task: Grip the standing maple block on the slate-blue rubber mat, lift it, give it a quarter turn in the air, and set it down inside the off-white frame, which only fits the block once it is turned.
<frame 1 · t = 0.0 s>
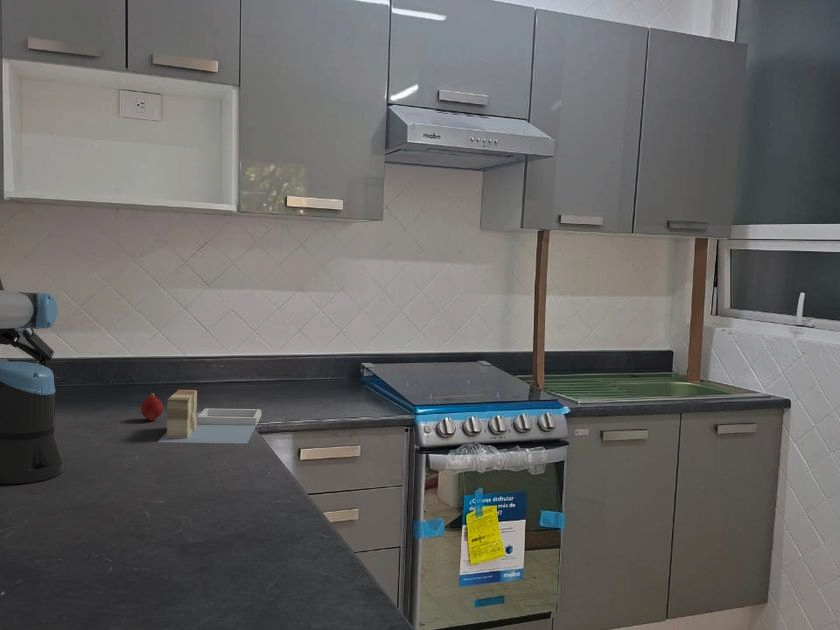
hand: (16, 377, 187), 15 cm above the worktop, tool tilted 35°, fingers open, 13 cm apart
frame: (230, 421, 214), resting on mat
block: (182, 432, 199), resting on mat
onion: (151, 422, 210), on the worktop
mat: (214, 427, 206), on the worktop
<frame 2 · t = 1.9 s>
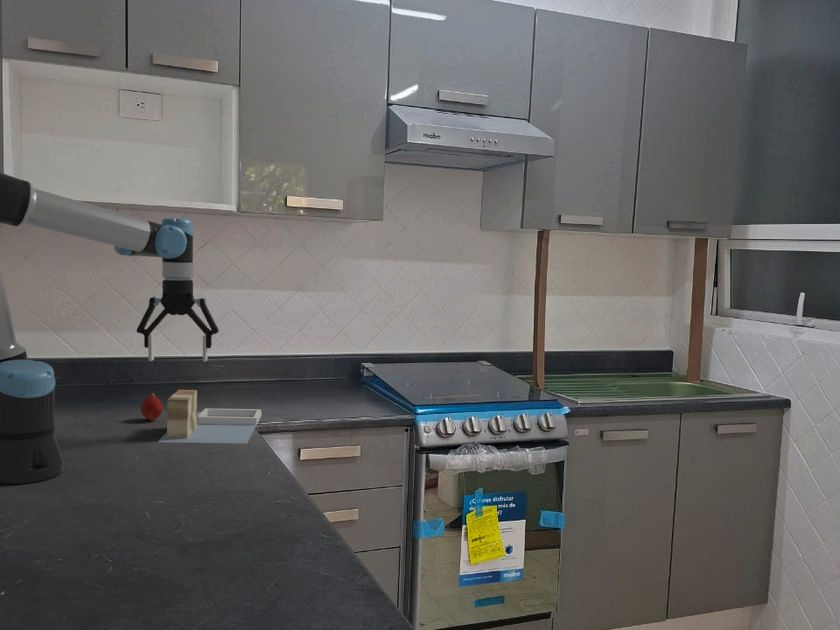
hand: (178, 360, 197), 19 cm above the worktop, tool pointing down, fingers open, 13 cm apart
nothing on the worktop moved.
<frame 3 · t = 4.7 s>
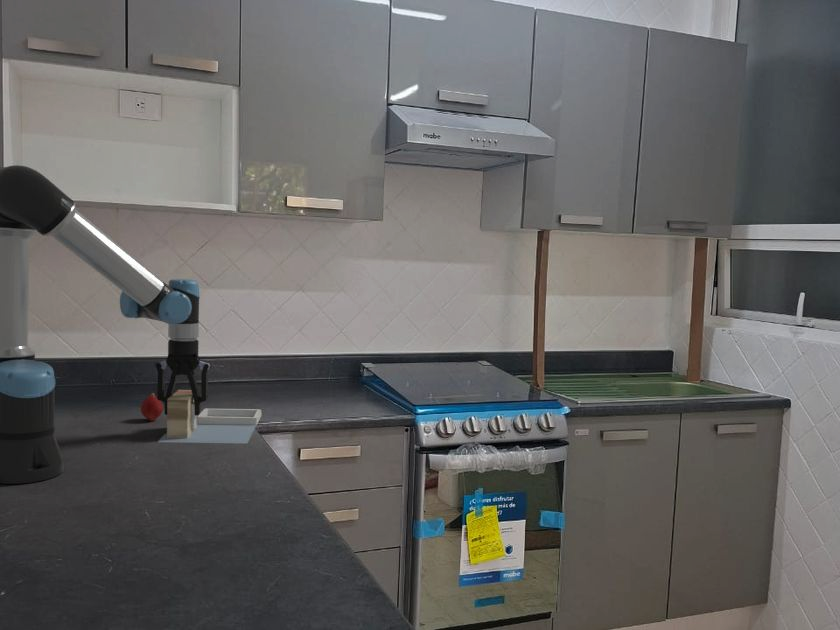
hand: (182, 427, 198), 2 cm above the worktop, tool pointing down, fingers closed on block, 5 cm apart
block: (182, 432, 199), resting on mat, touching gripper
everything else where it was.
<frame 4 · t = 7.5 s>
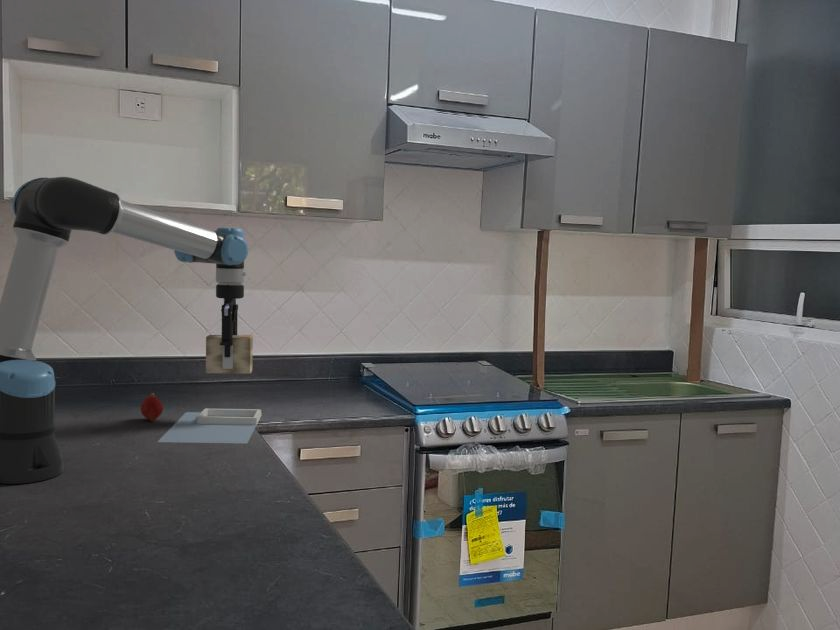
hand: (229, 366, 212), 16 cm above the worktop, tool pointing down, fingers closed on block, 5 cm apart
block: (229, 371, 212), point 14 cm above the worktop, touching gripper
everything else where it was.
when the fingers open (4 cm above the worktop, at t = 10.2 s): block drops 2 cm, resting on mat.
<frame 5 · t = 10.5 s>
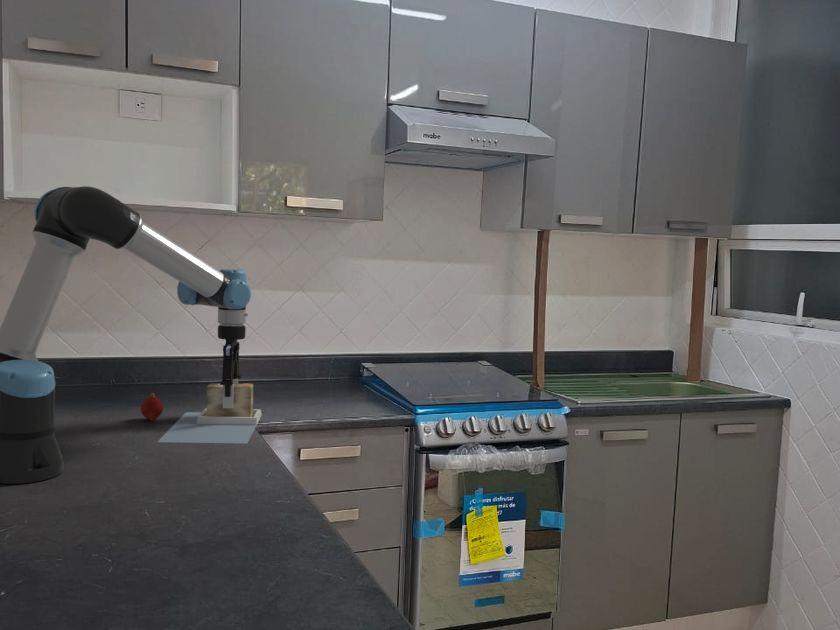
hand: (230, 404, 214), 5 cm above the worktop, tool pointing down, fingers open, 8 cm apart
block: (229, 420, 214), resting on mat
everything else where it was.
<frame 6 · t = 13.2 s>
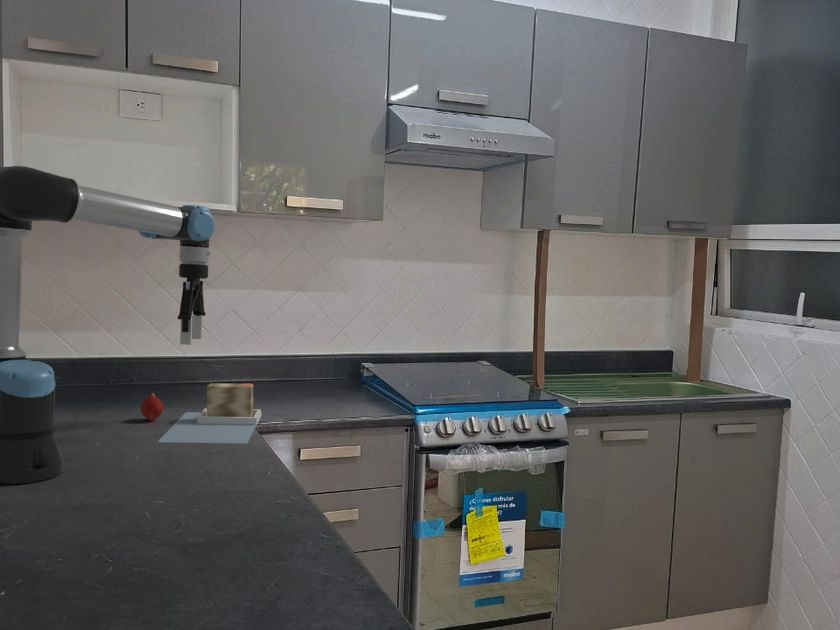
hand: (191, 341, 206), 23 cm above the worktop, tool pointing down, fingers open, 13 cm apart
nothing on the worktop moved.
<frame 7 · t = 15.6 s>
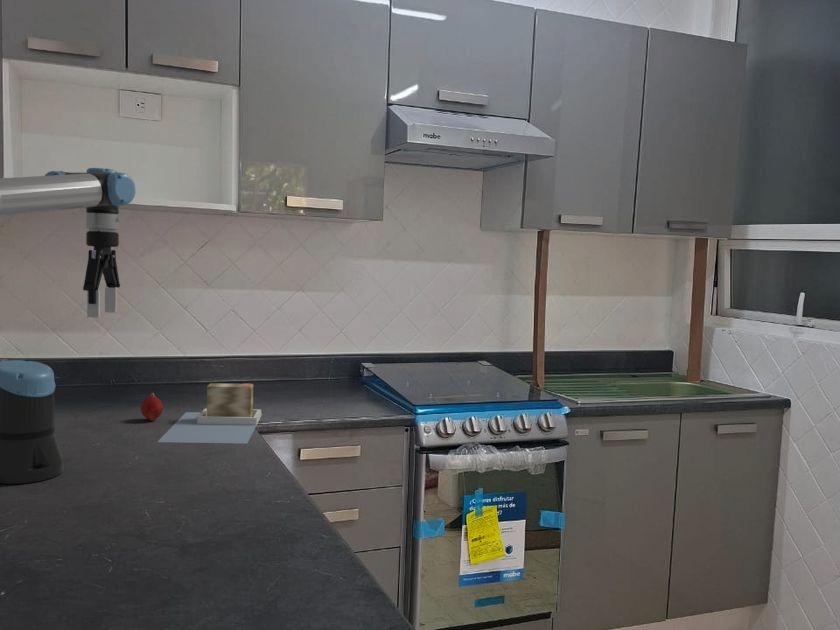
hand: (102, 314, 193), 31 cm above the worktop, tool pointing down, fingers open, 13 cm apart
nothing on the worktop moved.
at the end: block 0.2 cm off-centre on the frame, point 0.3 cm above the frame's base; block tilted 0°; the gripper is holding nothing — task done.
